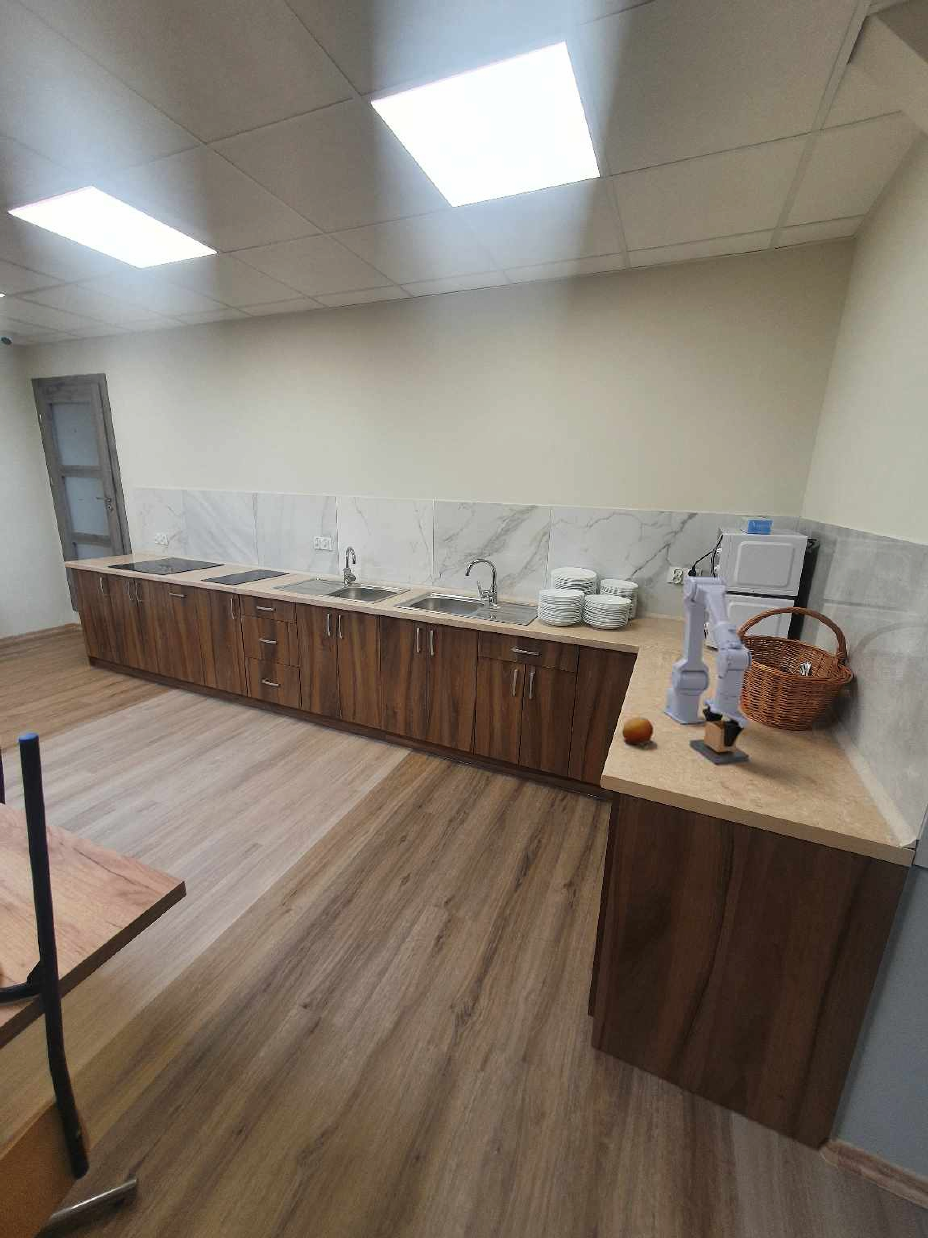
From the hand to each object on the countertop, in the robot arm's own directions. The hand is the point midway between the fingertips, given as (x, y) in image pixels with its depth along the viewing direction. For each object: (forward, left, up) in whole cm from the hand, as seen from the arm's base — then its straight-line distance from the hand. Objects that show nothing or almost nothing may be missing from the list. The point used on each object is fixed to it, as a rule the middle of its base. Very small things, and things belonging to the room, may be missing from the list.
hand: (720, 740), depth 135 cm
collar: (0, 0, -2) cm, 2 cm away
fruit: (-10, -18, -4) cm, 21 cm away
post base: (0, 0, -4) cm, 4 cm away
